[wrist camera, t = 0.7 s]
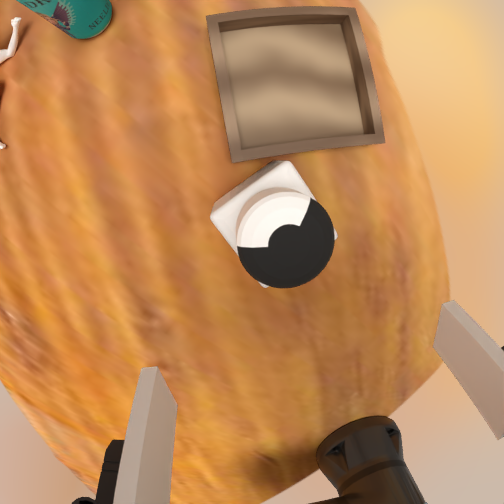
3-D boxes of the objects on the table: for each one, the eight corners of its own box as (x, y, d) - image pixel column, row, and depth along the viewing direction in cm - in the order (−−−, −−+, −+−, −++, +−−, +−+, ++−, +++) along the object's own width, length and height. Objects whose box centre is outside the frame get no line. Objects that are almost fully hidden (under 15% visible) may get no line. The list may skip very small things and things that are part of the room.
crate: (370, 144, 31) (385, 143, 27) (232, 162, 30) (232, 162, 27) (344, 19, 26) (355, 7, 23) (207, 29, 26) (205, 16, 23)
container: (316, 219, 33) (366, 257, 20) (256, 261, 34) (272, 321, 21) (274, 158, 31) (305, 158, 18) (212, 203, 31) (201, 232, 19)
